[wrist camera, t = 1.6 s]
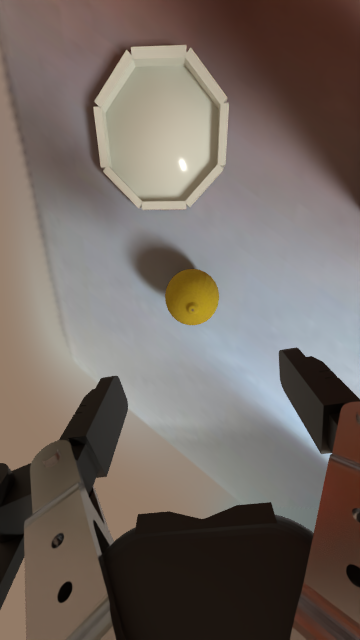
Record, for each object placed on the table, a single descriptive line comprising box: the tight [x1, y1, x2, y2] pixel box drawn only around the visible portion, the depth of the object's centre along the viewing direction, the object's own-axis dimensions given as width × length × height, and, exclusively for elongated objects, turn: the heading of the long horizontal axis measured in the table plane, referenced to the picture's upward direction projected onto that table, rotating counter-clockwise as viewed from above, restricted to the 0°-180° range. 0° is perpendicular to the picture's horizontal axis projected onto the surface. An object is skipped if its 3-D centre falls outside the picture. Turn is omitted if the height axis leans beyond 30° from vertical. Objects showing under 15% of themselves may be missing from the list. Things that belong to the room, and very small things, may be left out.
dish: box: [93, 45, 229, 210], centre depth 21 cm, size 12×12×2 cm
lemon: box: [165, 269, 219, 325], centre depth 24 cm, size 6×6×8 cm
